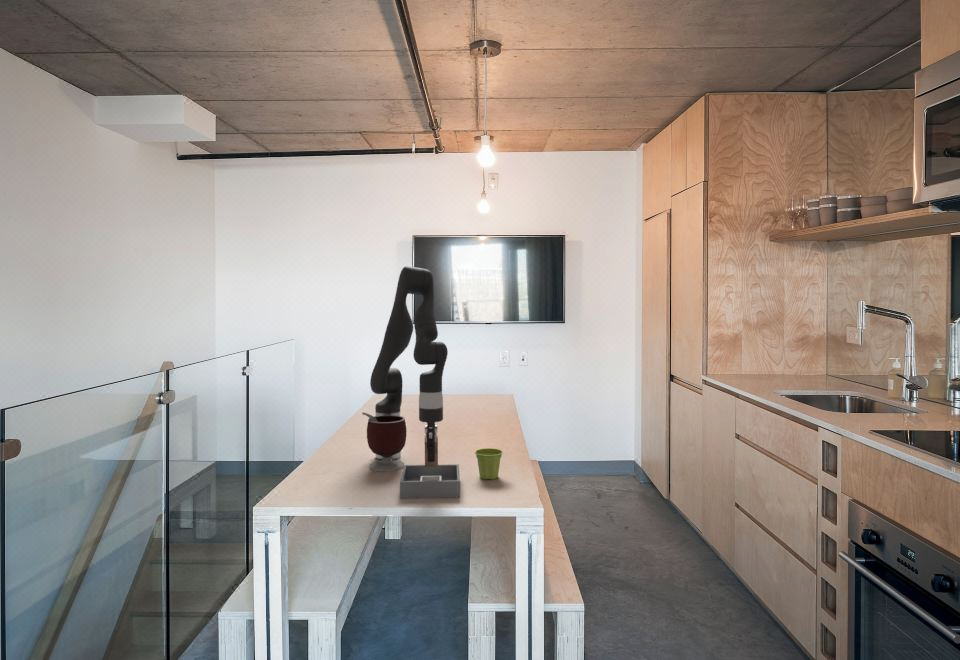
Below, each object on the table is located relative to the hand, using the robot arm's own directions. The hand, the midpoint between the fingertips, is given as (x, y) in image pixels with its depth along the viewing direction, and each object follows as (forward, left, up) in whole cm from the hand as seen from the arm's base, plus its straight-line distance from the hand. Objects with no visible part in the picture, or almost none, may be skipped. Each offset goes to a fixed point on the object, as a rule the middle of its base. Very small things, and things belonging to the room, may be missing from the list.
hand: (431, 459), depth 194 cm
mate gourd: (-25, -17, -10) cm, 32 cm away
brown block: (0, 0, -2) cm, 2 cm away
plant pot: (-11, +19, -9) cm, 24 cm away
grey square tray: (0, 0, -9) cm, 9 cm away
